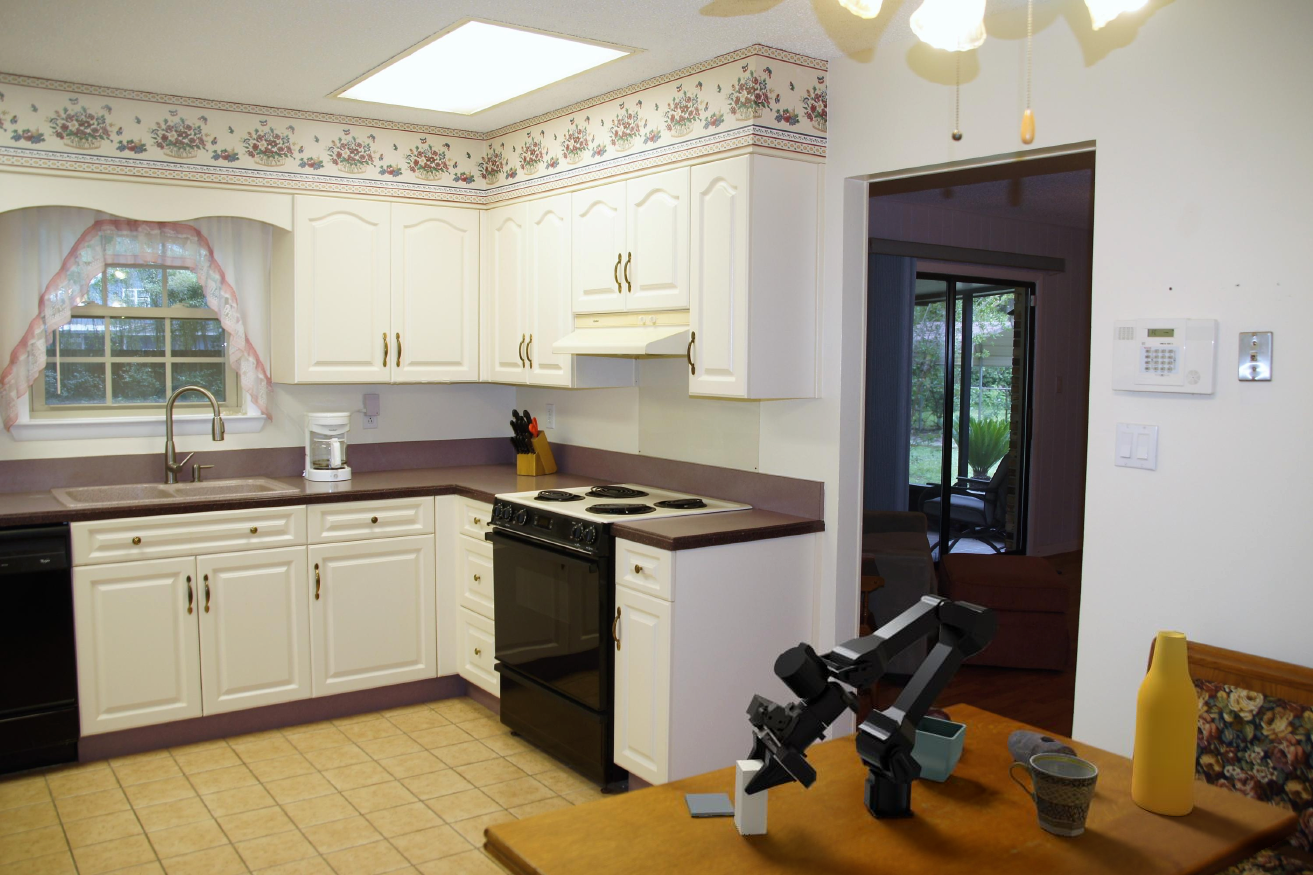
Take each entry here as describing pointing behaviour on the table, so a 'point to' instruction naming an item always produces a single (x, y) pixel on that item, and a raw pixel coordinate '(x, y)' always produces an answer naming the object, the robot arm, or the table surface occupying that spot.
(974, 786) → the table surface
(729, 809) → the slate mat
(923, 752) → the flower pot
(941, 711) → the icecream
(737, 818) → the tall block
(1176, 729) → the beer bottle
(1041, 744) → the perforated stone tool
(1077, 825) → the ceramic cup
